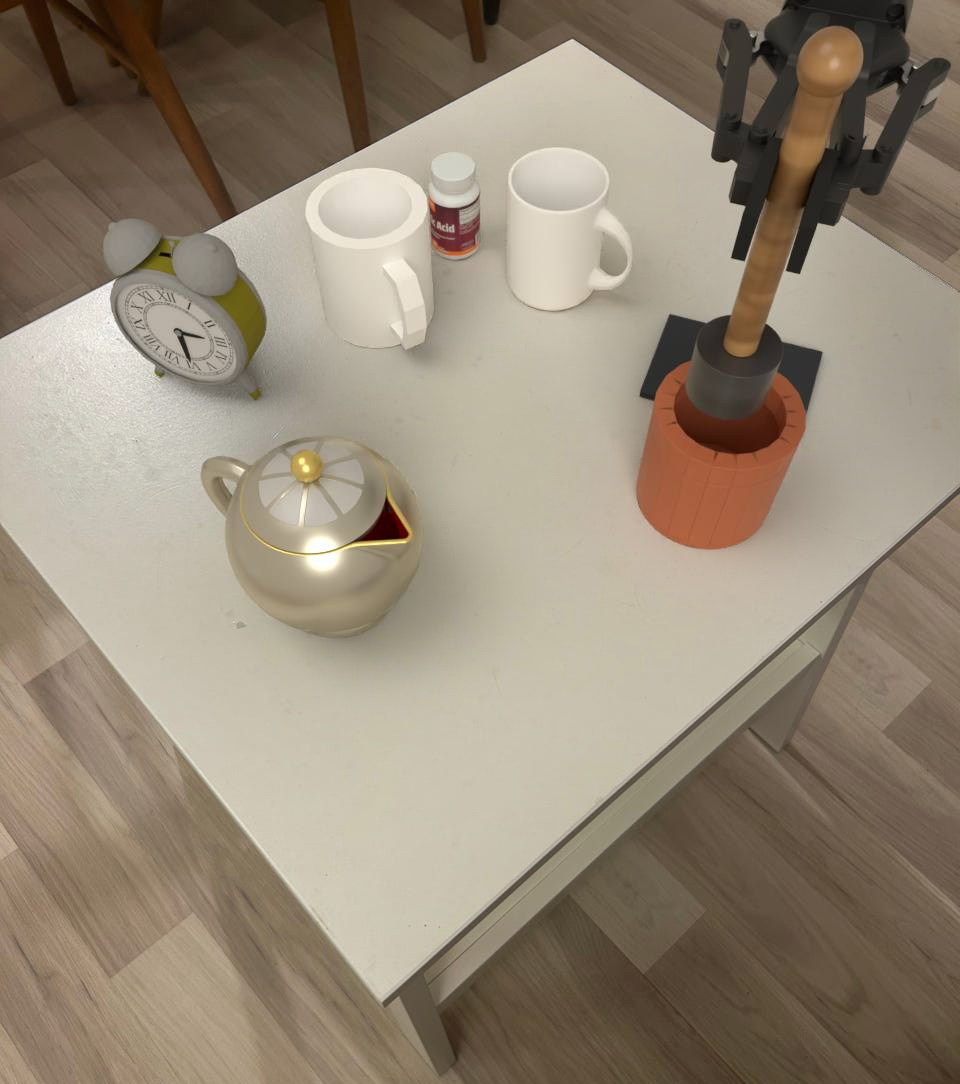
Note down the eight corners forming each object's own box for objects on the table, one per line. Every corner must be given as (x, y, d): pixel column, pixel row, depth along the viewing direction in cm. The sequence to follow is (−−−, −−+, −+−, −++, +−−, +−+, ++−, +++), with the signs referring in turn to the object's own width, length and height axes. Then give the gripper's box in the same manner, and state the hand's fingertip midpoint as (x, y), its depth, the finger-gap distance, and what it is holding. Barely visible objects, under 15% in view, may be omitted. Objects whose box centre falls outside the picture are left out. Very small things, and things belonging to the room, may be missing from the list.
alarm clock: (141, 385, 82) (73, 241, 69) (175, 331, 85) (116, 183, 72) (262, 414, 80) (216, 272, 67) (292, 358, 83) (254, 212, 70)
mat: (821, 356, 83) (823, 351, 82) (799, 438, 79) (801, 433, 78) (668, 318, 85) (669, 313, 85) (639, 396, 81) (640, 391, 80)
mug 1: (473, 343, 84) (471, 243, 75) (374, 388, 82) (359, 291, 72) (401, 256, 90) (391, 153, 80) (306, 295, 87) (284, 194, 78)
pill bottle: (421, 244, 90) (415, 165, 83) (456, 221, 92) (453, 141, 84) (455, 268, 89) (451, 189, 81) (490, 244, 90) (490, 165, 83)
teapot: (468, 565, 73) (462, 424, 58) (377, 705, 67) (346, 587, 53) (279, 478, 77) (230, 327, 63) (178, 603, 72) (99, 468, 57)
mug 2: (602, 341, 84) (616, 240, 75) (488, 292, 87) (488, 190, 78) (645, 283, 87) (663, 180, 78) (534, 239, 91) (540, 134, 81)
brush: (783, 403, 63) (927, 46, 42) (712, 431, 62) (824, 78, 41) (738, 348, 66) (854, -15, 45) (670, 374, 64) (755, 14, 44)
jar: (795, 520, 75) (836, 437, 66) (678, 568, 73) (704, 490, 64) (723, 426, 79) (752, 337, 70) (612, 469, 77) (628, 383, 68)
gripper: (949, 84, 60) (895, 336, 49) (715, 39, 62) (618, 270, 52) (1006, -48, 53) (958, 213, 43) (742, -92, 56) (637, 143, 45)
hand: (772, 243), depth 47 cm, fingers closed on brush, 2 cm apart
